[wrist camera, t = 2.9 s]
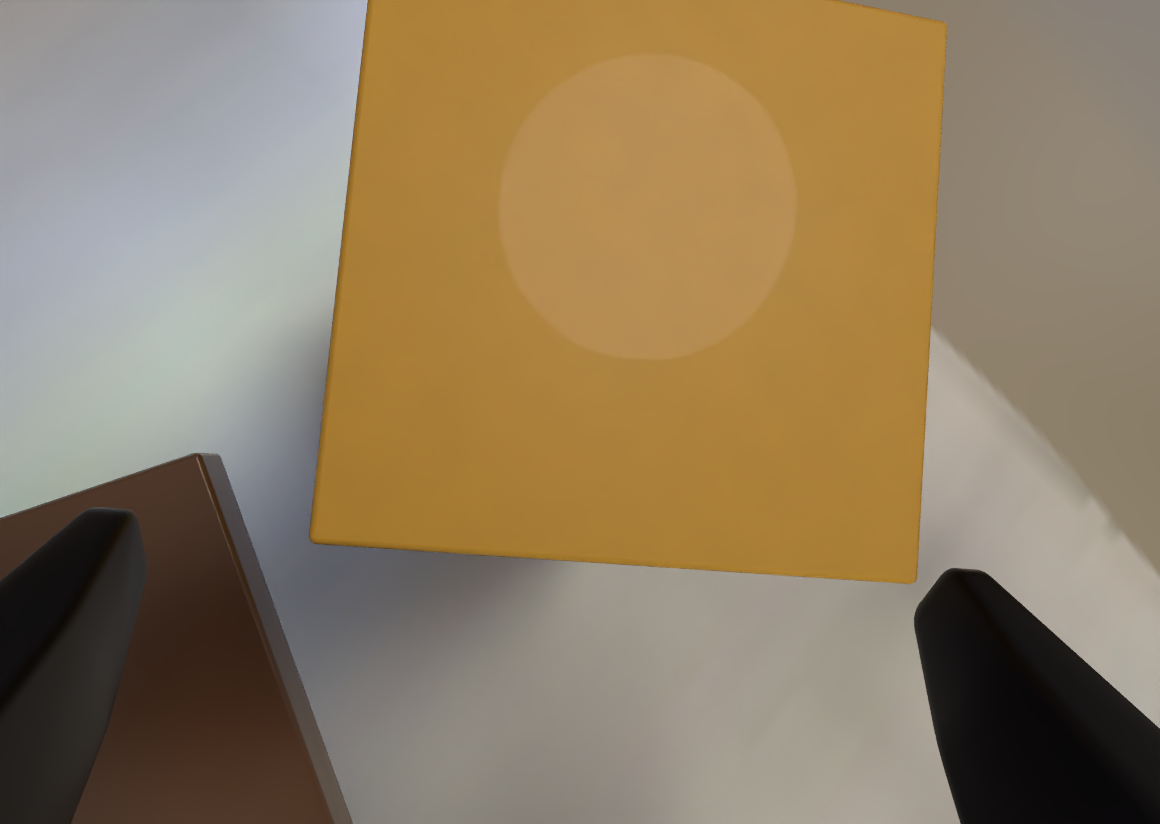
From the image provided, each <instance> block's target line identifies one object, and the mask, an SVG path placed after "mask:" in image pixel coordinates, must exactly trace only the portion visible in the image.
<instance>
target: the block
mask: <svg viewBox="0 0 1160 824" xmlns="http://www.w3.org/2000/svg"><path fill="white" fill-rule="evenodd" d="M946 37H947V25H946V23H944V22H942V21H937V20H932V19H927V18H922V17H917V16H912V15H908V14H903V13H897V12H893V11H888V10H883V9H878V8H873V7H868V6H864V5H859V4H854V3H849V2H844V1H839V0H368V4H367V13H366V22H365V31H364V40H363V49H362V58H361V67H360V76H359V86H358V95H357V104H356V113H355V122H354V131H353V140H352V149H351V158H350V167H349V176H348V186H347V195H346V204H345V213H344V222H343V231H342V240H341V249H340V258H339V267H338V277H337V286H336V295H335V304H334V313H333V322H332V331H331V340H330V349H329V358H328V367H327V377H326V386H325V395H324V404H323V413H322V422H321V431H320V440H319V449H318V458H317V467H316V477H315V486H314V495H313V504H312V513H311V522H310V531H309V538H310V541H311V542H313V543H315V544H323V545H338V546H353V547H368V548H383V549H397V550H412V551H427V552H442V553H457V554H472V555H487V556H502V557H517V558H531V559H546V560H561V561H576V562H591V563H606V564H621V565H636V566H650V567H665V568H680V569H695V570H710V571H725V572H740V573H755V574H770V575H784V576H799V577H814V578H829V579H844V580H859V581H874V582H889V583H903V584H911V583H914V582H916V579H917V568H918V550H919V531H920V513H921V495H922V476H923V458H924V440H925V421H926V403H927V385H928V367H929V348H930V330H931V311H932V292H933V275H934V257H935V238H936V220H937V201H938V184H939V165H940V147H941V129H942V110H943V92H944V74H945V73H944V72H945V55H946V53H945V52H946Z"/></svg>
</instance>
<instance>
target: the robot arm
mask: <svg viewBox="0 0 1160 824" xmlns="http://www.w3.org/2000/svg"><path fill="white" fill-rule="evenodd" d="M146 575H147V559H146V554H145V550H144V546H143V541H142V537H141V532H140V528H139V523H138V519H137V517H136V515H135V514H134V512H132V511H131V510H128V509H117V508H103V507H93V508H89V509H87V510H85V511H83V512H82V513H80V514H79V515H78V516H77V517H75V518H74V519H73V520H72V521H71V522H69V523H68V524H67V525H66V526H65V527H63V528H62V529H61V530H60V531H59V532H57V533H56V534H55V535H54V536H53V537H51V538H50V539H49V540H48V541H47V542H45V543H44V544H43V545H42V546H41V547H39V548H38V549H37V550H36V551H35V552H34V553H32V554H31V555H30V556H29V557H28V558H26V559H25V560H24V561H23V562H22V563H20V564H19V565H18V566H17V567H16V568H14V569H13V570H12V571H11V572H10V573H8V574H7V575H6V576H5V577H4V578H2V579H1V580H0V824H71V822H72V820H73V817H74V814H75V812H76V809H77V807H78V804H79V801H80V799H81V796H82V794H83V791H84V789H85V786H86V783H87V781H88V778H89V776H90V773H91V771H92V768H93V765H94V763H95V760H96V758H97V755H98V752H99V750H100V747H101V744H102V742H103V739H104V736H105V733H106V730H107V727H108V725H109V721H110V717H111V714H112V710H113V707H114V703H115V699H116V695H117V692H118V688H119V684H120V680H121V676H122V672H123V668H124V664H125V660H126V656H127V652H128V649H129V645H130V641H131V637H132V633H133V629H134V625H135V621H136V617H137V613H138V610H139V606H140V602H141V598H142V594H143V590H144V586H145V582H146ZM914 627H915V633H916V638H917V643H918V649H919V654H920V659H921V664H922V669H923V674H924V680H925V685H926V690H927V695H928V700H929V705H930V711H931V716H932V721H933V726H934V731H935V735H936V740H937V744H938V748H939V752H940V756H941V759H942V763H943V766H944V770H945V773H946V777H947V780H948V783H949V787H950V790H951V793H952V796H953V800H954V803H955V806H956V810H957V813H958V816H959V820H960V823H961V824H1160V728H1158V727H1157V726H1156V725H1155V724H1154V723H1153V722H1152V721H1151V720H1150V719H1148V718H1147V717H1146V716H1145V715H1144V714H1143V713H1142V712H1141V711H1140V710H1138V709H1137V708H1136V707H1135V706H1134V705H1133V704H1132V703H1131V702H1130V701H1128V700H1127V699H1126V698H1125V697H1124V696H1123V695H1122V694H1121V693H1120V692H1118V691H1117V690H1116V689H1115V688H1114V687H1113V686H1112V685H1111V684H1110V683H1108V682H1107V681H1106V680H1105V679H1104V678H1103V677H1102V676H1101V675H1100V674H1098V673H1097V672H1096V671H1095V670H1094V669H1093V668H1092V667H1091V666H1090V665H1088V664H1087V663H1086V662H1085V661H1084V660H1083V659H1082V658H1081V657H1080V656H1078V655H1077V654H1076V653H1075V652H1074V651H1073V650H1072V649H1071V648H1070V647H1068V646H1067V645H1066V644H1065V643H1064V642H1063V641H1062V640H1061V639H1060V638H1058V637H1057V636H1056V635H1055V634H1054V633H1053V632H1052V631H1051V630H1050V629H1048V628H1047V627H1046V626H1045V625H1044V624H1043V623H1042V622H1041V621H1040V620H1038V619H1037V618H1036V617H1035V616H1034V615H1033V614H1032V613H1031V612H1030V611H1028V610H1027V609H1026V608H1025V607H1024V606H1023V605H1022V604H1021V603H1020V602H1018V601H1017V600H1016V599H1015V598H1014V597H1013V596H1012V595H1011V594H1010V593H1008V592H1007V591H1006V590H1005V589H1004V588H1003V587H1002V586H1001V585H1000V584H998V583H997V582H996V581H995V580H994V579H993V578H992V577H991V576H989V575H988V574H987V573H985V572H983V571H980V570H974V569H960V568H951V569H949V570H946V571H945V572H944V573H943V574H942V575H941V576H940V578H939V579H938V580H937V581H936V583H935V584H934V585H933V587H932V588H931V589H930V591H929V592H928V593H927V594H926V596H925V597H924V598H923V600H922V601H921V602H920V604H919V605H918V607H917V609H916V612H915V617H914Z"/></svg>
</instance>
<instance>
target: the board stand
mask: <svg viewBox="0 0 1160 824" xmlns="http://www.w3.org/2000/svg"><path fill="white" fill-rule="evenodd" d="M93 507H103V508H117V509H128V510H131V511H132V512H134V514H135V515H136V517H137V519H138V523H139V528H140V532H141V537H142V541H143V546H144V550H145V554H146V559H147V575H146V582H145V586H144V590H143V594H142V598H141V602H140V606H139V610H138V613H137V617H136V621H135V625H134V629H133V633H132V637H131V641H130V645H129V649H128V652H127V656H126V660H125V664H124V668H123V672H122V676H121V680H120V684H119V688H118V692H117V695H116V699H115V703H114V707H113V710H112V714H111V717H110V721H109V725H108V727H107V730H106V733H105V736H104V739H103V742H102V744H101V747H100V750H99V752H98V755H97V758H96V760H95V763H94V765H93V768H92V771H91V773H90V776H89V778H88V781H87V783H86V786H85V789H84V791H83V794H82V796H81V799H80V801H79V804H78V807H77V809H76V812H75V814H74V817H73V820H72V822H71V824H353V823H352V820H351V817H350V815H349V812H348V809H347V806H346V804H345V801H344V798H343V795H342V792H341V790H340V787H339V784H338V781H337V779H336V776H335V773H334V770H333V767H332V765H331V762H330V759H329V756H328V754H327V751H326V748H325V745H324V742H323V740H322V737H321V734H320V731H319V729H318V726H317V723H316V720H315V717H314V715H313V712H312V709H311V706H310V704H309V701H308V698H307V695H306V693H305V690H304V687H303V684H302V681H301V679H300V676H299V673H298V670H297V668H296V665H295V662H294V659H293V656H292V654H291V651H290V648H289V645H288V643H287V640H286V637H285V634H284V631H283V629H282V626H281V623H280V620H279V618H278V615H277V612H276V609H275V606H274V604H273V601H272V598H271V595H270V593H269V590H268V587H267V584H266V581H265V579H264V576H263V573H262V570H261V568H260V565H259V562H258V559H257V557H256V554H255V551H254V548H253V545H252V543H251V540H250V537H249V534H248V532H247V529H246V526H245V523H244V520H243V518H242V515H241V512H240V509H239V507H238V504H237V501H236V498H235V495H234V493H233V490H232V487H231V484H230V482H229V479H228V476H227V473H226V470H225V468H224V465H223V462H222V459H221V457H220V456H219V455H218V454H209V453H193V454H190V455H187V456H184V457H181V458H178V459H175V460H172V461H169V462H166V463H163V464H160V465H157V466H154V467H151V468H148V469H145V470H142V471H139V472H136V473H133V474H130V475H127V476H125V477H122V478H119V479H116V480H113V481H110V482H107V483H104V484H101V485H98V486H95V487H92V488H89V489H86V490H83V491H80V492H77V493H74V494H71V495H68V496H65V497H62V498H59V499H56V500H53V501H50V502H47V503H44V504H41V505H38V506H35V507H32V508H29V509H26V510H23V511H20V512H17V513H14V514H11V515H8V516H5V517H2V518H0V580H1V579H2V578H4V577H5V576H6V575H7V574H8V573H10V572H11V571H12V570H13V569H14V568H16V567H17V566H18V565H19V564H20V563H22V562H23V561H24V560H25V559H26V558H28V557H29V556H30V555H31V554H32V553H34V552H35V551H36V550H37V549H38V548H39V547H41V546H42V545H43V544H44V543H45V542H47V541H48V540H49V539H50V538H51V537H53V536H54V535H55V534H56V533H57V532H59V531H60V530H61V529H62V528H63V527H65V526H66V525H67V524H68V523H69V522H71V521H72V520H73V519H74V518H75V517H77V516H78V515H79V514H80V513H82V512H83V511H85V510H87V509H89V508H93Z"/></svg>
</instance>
